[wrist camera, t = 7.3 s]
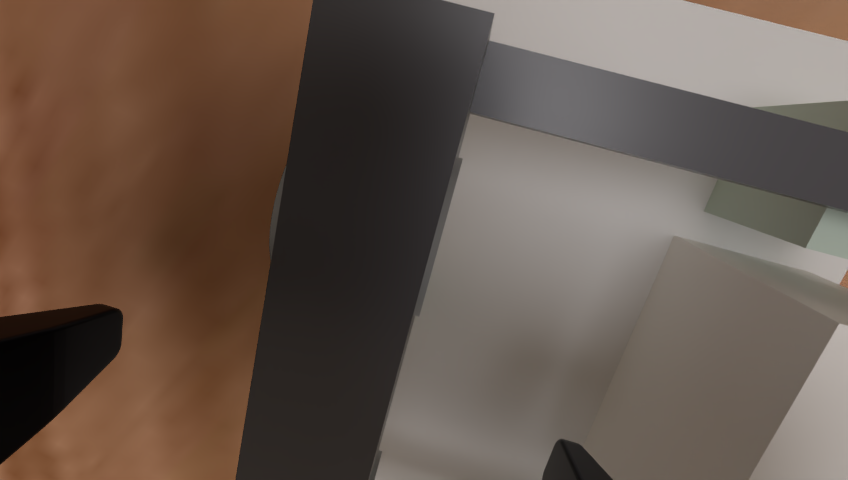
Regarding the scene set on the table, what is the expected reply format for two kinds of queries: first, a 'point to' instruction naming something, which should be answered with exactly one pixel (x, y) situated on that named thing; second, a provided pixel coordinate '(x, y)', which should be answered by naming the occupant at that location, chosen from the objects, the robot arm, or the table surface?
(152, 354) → the table surface
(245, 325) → the table surface
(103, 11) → the table surface
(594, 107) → the glasses
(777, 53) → the display stand
